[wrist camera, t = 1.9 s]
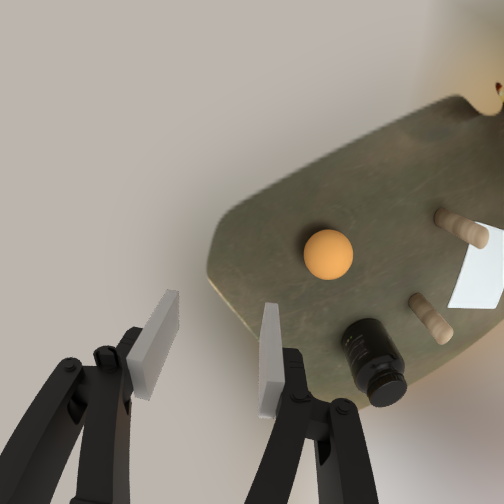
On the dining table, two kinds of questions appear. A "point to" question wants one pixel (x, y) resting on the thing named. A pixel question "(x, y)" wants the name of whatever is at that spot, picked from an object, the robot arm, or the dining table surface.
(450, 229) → the post
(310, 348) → the dining table surface
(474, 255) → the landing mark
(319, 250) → the ball
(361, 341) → the supplement bottle
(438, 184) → the dining table surface
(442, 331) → the post
